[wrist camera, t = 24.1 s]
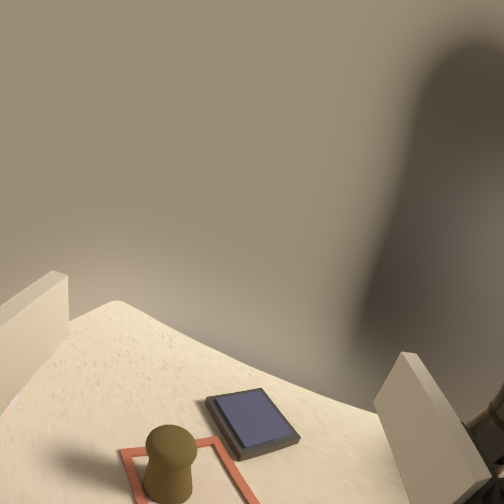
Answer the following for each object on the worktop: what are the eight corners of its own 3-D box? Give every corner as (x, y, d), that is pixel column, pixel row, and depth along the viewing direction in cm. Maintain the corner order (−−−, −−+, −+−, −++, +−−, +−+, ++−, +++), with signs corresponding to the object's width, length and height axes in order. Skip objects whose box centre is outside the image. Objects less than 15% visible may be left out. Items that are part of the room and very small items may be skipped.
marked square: (265, 514, 28) (266, 512, 28) (153, 543, 21) (153, 542, 20) (217, 437, 39) (217, 435, 39) (120, 450, 32) (119, 449, 32)
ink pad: (297, 443, 41) (302, 435, 40) (239, 461, 36) (242, 453, 35) (259, 393, 50) (262, 385, 50) (205, 403, 45) (207, 394, 45)
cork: (133, 477, 29) (129, 427, 25) (172, 460, 33) (179, 408, 30) (162, 513, 25) (165, 472, 22) (202, 492, 29) (216, 446, 26)
